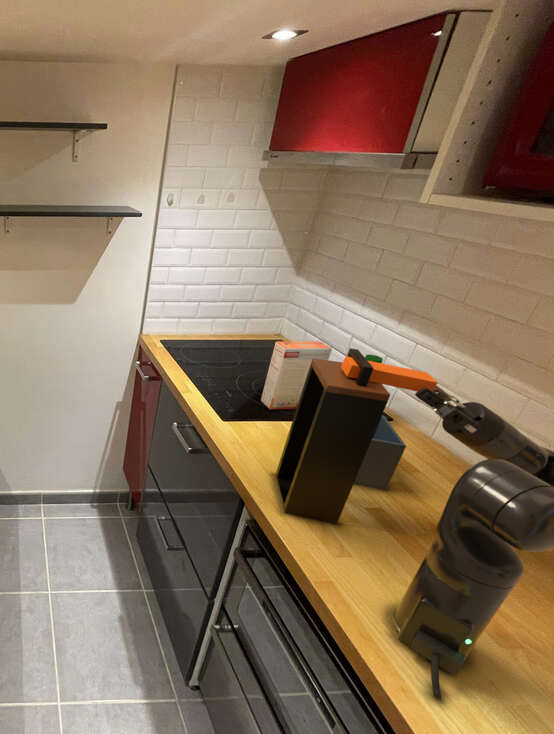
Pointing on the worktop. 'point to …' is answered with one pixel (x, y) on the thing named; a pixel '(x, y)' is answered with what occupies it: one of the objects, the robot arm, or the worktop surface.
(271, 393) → the cracker box
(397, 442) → the blue open bin
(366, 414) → the box
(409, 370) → the bar
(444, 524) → the robot arm
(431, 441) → the worktop surface
